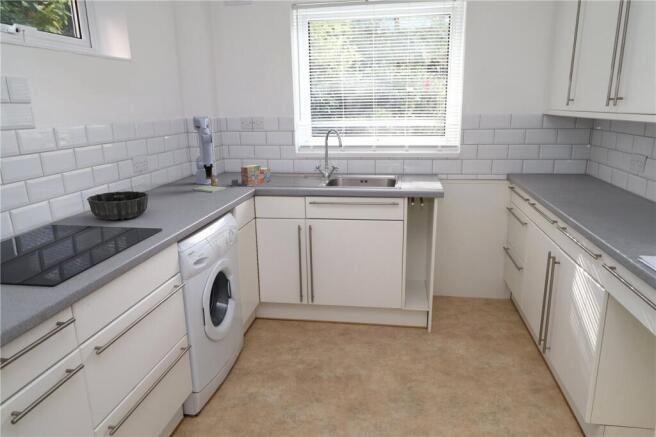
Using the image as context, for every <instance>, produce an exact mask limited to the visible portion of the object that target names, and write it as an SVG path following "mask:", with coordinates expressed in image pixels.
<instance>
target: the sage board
mask: <svg viewBox="0 0 656 437" xmlns="http://www.w3.org/2000/svg"><path fill="white" fill-rule="evenodd" d="M226 189H227V187H223V186H222V187H221V186H218V187H216V186H211V185H203V186H198V187H195V188H194V187H193V188H192V190H193V191H196V192H206V193H217V192H220V191H225V190H226Z"/></svg>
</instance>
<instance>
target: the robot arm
mask: <svg viewBox="0 0 656 437" xmlns="http://www.w3.org/2000/svg"><path fill="white" fill-rule="evenodd" d="M192 124H193V128H194V130H195V131H196V132H197V137H198V148H199V155H198V156H197V158H195V162H196V163H195V165H196V166H195V167H196V172H195V184H197V185H204V186H207V185H209V184H210V185H211V179H206V174H207V177H211V171H212V172H213V168H214V164H213V163H215V161H214V160H213V146H212V144H213V136H212V134H211V133H210V129H209V128H210V117H209V116H205V115H204V116H196V115H195V116H193V117H192ZM205 170H206V173H205Z"/></svg>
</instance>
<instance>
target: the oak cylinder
mask: <svg viewBox="0 0 656 437" xmlns="http://www.w3.org/2000/svg"><path fill="white" fill-rule="evenodd" d="M218 180H219V179H218V178H213V179H211V184H210V186H216V187H219V181H218Z"/></svg>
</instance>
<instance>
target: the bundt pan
mask: <svg viewBox="0 0 656 437" xmlns="http://www.w3.org/2000/svg"><path fill="white" fill-rule="evenodd" d="M149 195H150V194H149V193H147V192H145V191H137V190H136V191H132V190H131V191H130V190H129V191H128V190H127V191H125V190H124V191H113V192H111V191H110V192H102V193H98V194H95V195H91V196H88V198H87V197H86V201H87V202H88V204H89V208H90V211H91V214H92V215H94V217H95V218H97V219H98V218H99V219H101V220H105V221H116V220H122V221H123V220H124V219H129V220H130V219H132V218H138V217H139V216H141V215H143V214H144V213H145V212H146V211H147V209H148V200H149V198H148V197H149Z"/></svg>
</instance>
